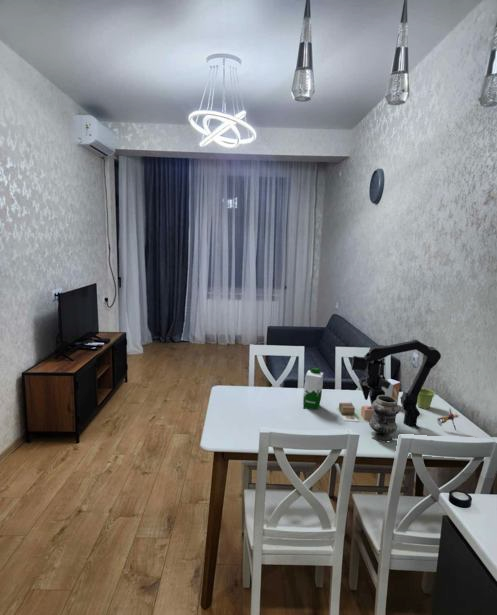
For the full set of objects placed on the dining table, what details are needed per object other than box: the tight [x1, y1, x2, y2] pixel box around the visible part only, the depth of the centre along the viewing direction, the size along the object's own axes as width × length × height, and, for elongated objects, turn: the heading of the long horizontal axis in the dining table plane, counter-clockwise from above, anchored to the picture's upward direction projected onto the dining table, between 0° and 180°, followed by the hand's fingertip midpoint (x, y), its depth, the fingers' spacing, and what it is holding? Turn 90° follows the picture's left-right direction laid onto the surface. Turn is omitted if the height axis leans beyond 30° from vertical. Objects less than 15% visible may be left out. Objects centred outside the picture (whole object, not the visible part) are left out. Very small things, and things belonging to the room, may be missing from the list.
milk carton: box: [302, 367, 324, 410], centre depth 211 cm, size 9×9×20 cm
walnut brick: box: [338, 402, 356, 416], centre depth 207 cm, size 6×6×4 cm
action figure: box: [436, 408, 459, 431], centre depth 198 cm, size 12×3×9 cm
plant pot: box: [416, 387, 436, 410], centre depth 224 cm, size 9×9×9 cm
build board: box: [334, 407, 369, 423], centre depth 206 cm, size 16×16×1 cm
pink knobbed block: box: [360, 405, 374, 420], centre depth 203 cm, size 5×5×6 cm
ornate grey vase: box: [368, 395, 401, 443], centre depth 184 cm, size 12×12×18 cm
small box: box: [381, 378, 401, 404], centre depth 223 cm, size 8×6×13 cm
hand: (369, 403), depth 202 cm, fingers open, 9 cm apart
